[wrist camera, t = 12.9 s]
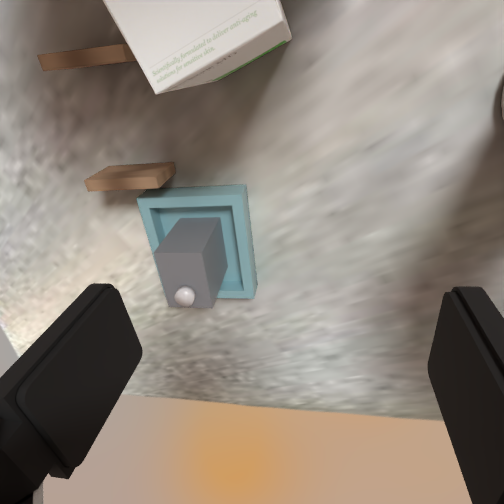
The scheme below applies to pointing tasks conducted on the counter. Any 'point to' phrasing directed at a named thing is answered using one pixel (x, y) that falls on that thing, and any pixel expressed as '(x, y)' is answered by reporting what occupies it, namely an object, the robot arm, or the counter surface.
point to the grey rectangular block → (192, 262)
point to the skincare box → (198, 37)
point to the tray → (207, 205)
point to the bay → (121, 174)
